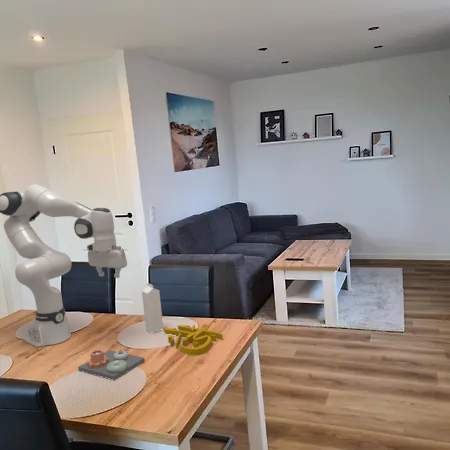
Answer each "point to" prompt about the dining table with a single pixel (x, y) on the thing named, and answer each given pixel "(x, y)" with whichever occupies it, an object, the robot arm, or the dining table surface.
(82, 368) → the carrier
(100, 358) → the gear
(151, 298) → the milk
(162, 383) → the dining table surface
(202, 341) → the decorative art
